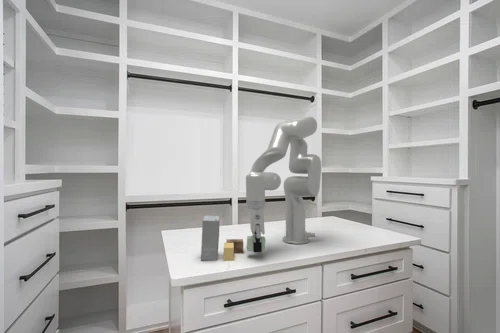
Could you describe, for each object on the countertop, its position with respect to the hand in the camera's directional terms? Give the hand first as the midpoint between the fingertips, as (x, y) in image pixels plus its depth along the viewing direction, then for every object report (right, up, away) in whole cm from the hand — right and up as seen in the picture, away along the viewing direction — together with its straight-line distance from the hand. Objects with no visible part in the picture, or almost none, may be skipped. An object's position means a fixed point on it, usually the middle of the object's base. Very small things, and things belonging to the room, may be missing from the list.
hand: (257, 249), depth 101 cm
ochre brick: (-11, -3, -1) cm, 12 cm away
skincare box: (-18, -3, -1) cm, 19 cm away
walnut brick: (-9, -3, +5) cm, 11 cm away
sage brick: (-1, 0, 0) cm, 1 cm away
